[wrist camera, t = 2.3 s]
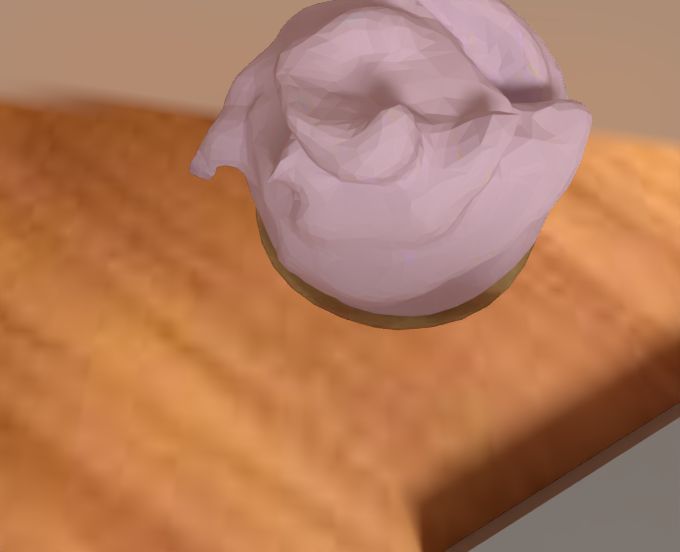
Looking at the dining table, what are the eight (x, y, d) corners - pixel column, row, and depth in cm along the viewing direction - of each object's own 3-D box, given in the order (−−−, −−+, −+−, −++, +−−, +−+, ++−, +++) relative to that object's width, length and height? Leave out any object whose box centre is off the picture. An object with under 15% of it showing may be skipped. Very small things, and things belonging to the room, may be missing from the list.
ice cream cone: (271, 358, 22) (77, 198, 8) (308, 198, 24) (203, -184, 9) (458, 395, 22) (625, 294, 7) (484, 227, 23) (664, -136, 9)
